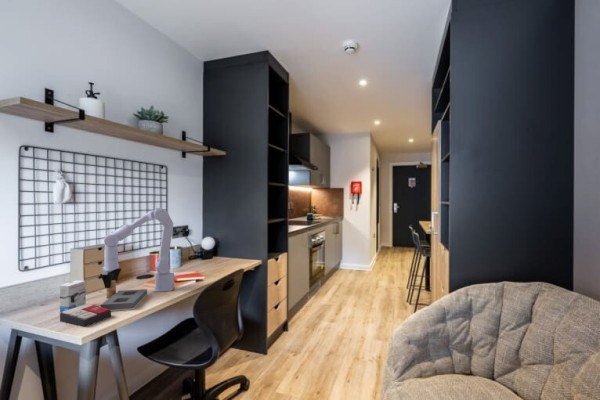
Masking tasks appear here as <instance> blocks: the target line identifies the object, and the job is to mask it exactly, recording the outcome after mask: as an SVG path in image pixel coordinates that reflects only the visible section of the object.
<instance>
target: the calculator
mask: <svg viewBox="0 0 600 400" xmlns="http://www.w3.org/2000/svg"><path fill="white" fill-rule="evenodd" d="M111 317H112V311H111V310H109V309H106V308H103V307H101V306H99V305H95V304H90V303H86V304H85V305H82V306H79V307H76V308H72V309H69V310H66V311H63V312H59V322H62V323H65V324H66V323H69V324H71V325H74V326H77V327H82V328H86V327H89V326H91V325H93V323H94V324H96V323H98V322H101V321H103V319H104V320H106V319H109V318H111Z"/></svg>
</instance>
